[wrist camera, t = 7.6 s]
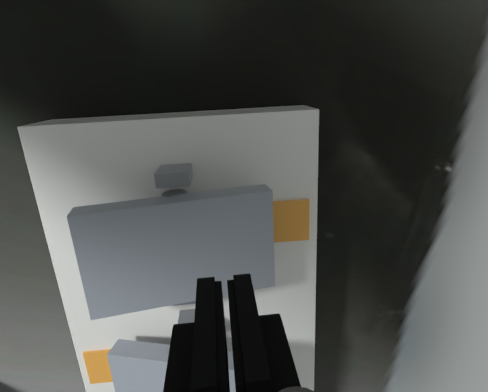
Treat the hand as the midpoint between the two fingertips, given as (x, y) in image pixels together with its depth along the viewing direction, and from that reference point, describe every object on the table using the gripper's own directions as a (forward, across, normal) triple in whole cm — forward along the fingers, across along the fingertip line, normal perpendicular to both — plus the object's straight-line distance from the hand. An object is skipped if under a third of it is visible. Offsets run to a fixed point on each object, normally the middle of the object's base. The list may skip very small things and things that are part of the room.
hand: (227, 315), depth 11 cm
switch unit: (+12, +2, +10) cm, 16 cm away
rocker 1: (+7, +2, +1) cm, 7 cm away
